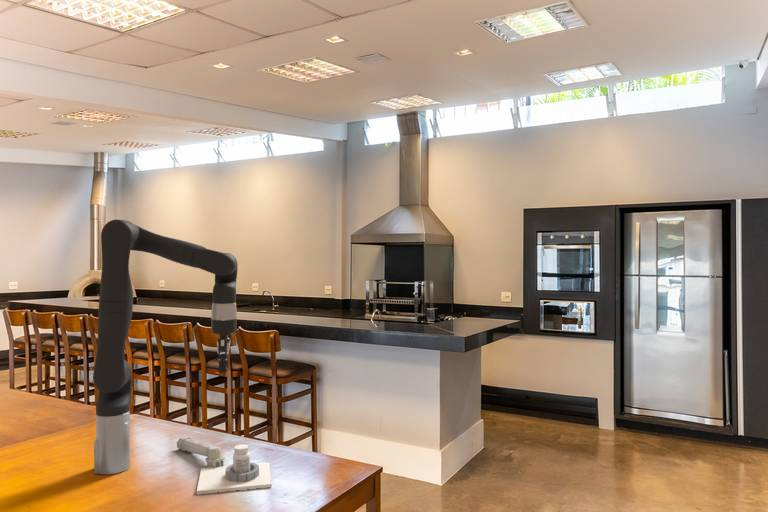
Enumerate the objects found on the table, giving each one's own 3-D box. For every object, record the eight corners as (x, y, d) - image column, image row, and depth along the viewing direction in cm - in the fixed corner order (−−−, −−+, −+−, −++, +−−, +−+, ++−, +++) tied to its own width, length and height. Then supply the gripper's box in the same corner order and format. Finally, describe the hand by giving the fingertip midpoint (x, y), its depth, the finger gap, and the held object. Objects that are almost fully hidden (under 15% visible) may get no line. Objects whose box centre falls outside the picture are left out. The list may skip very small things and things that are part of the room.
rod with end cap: (189, 435, 191) (226, 443, 174) (190, 455, 191) (228, 465, 173) (174, 438, 187) (211, 447, 170) (175, 459, 187) (212, 470, 169)
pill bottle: (234, 472, 167) (233, 444, 166) (251, 471, 167) (250, 443, 167) (232, 479, 162) (231, 450, 162) (249, 478, 163) (249, 448, 162)
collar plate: (196, 494, 154) (196, 483, 154) (201, 471, 170) (201, 461, 170) (271, 487, 159) (271, 476, 159) (269, 465, 174) (269, 456, 174)
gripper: (213, 314, 181) (212, 365, 182) (209, 320, 167) (208, 375, 168) (237, 314, 183) (236, 364, 183) (235, 320, 169) (235, 374, 169)
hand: (223, 369), depth 176 cm, fingers open, 8 cm apart
